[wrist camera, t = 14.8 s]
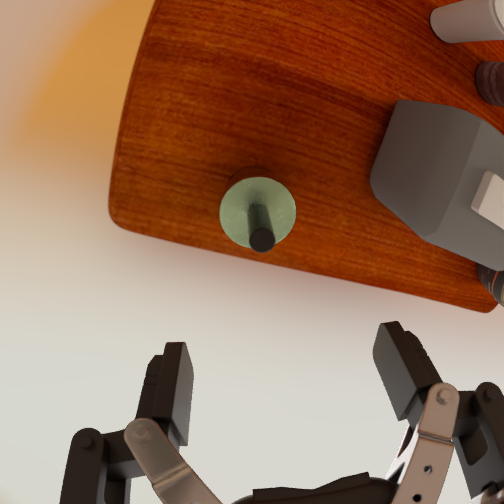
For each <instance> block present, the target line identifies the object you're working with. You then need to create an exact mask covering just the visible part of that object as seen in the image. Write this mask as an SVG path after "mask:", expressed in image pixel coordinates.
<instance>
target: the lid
mask: <svg viewBox="0 0 504 504" xmlns="http://www.w3.org/2000/svg"><path fill="white" fill-rule="evenodd" d="M219 218H220V222H221V225H222V228H223V230H224V231H225V233H226V234H227V235H228V236H229V237H230V238H231V239H232V240H233V241H234V242H236V243H238V244H240V245H242V246H245V247H249V248H252V249H253V250H254V251H256V252H260V253H264V252H268V251H269V250H271V249H272V248H273V247H274V245H275V244H276V243H278V242H280V241H281V240H282V239H283V238H285V237H286V236H287V234H288V233H289V232H290V230H291V229H292V227H293V225H294V222H295V218H296V206H295V202H294V199H293V197H292V195H291V193H290V192H289V190H288V189H287V188H286V187H285V186H284V185H283V184H282V183H280V182H279V181H277V180H275V179H273V178H270V177H266V176H250V177H246V178H244V179H241V180H239V181H237V182H236V183H234V184H233V185H232V186H231V187H230V188H229V189H228V190H227V191H226V193H225V194H224V196H223V198H222V201H221V204H220V210H219Z"/></svg>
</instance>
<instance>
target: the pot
mask: <svg viewBox="0 0 504 504" xmlns="http://www.w3.org/2000/svg"><path fill="white" fill-rule="evenodd" d="M250 176H266V177H270V178H273V179H275V180H277V181H279V179H278V178H277V177H276V176H275V175H274V174H273V173H272V172H271V171H269V170H267V169H265V168H261V167H247V168H244V169H242V170H240V171H238V172H237V173H235V174H234V175H233V176H232V177H231V179H230V180H229V182H228V184H227V186H226V190H225V193H226V191H227V190H228V189H229V188H230V187H231V186H232V185H233V184H234V183H236V182H237V181H239V180H241V179H244V178H246V177H250ZM279 182H280V181H279Z"/></svg>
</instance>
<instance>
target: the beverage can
mask: <svg viewBox="0 0 504 504" xmlns="http://www.w3.org/2000/svg"><path fill="white" fill-rule="evenodd" d="M430 23H431V27H432V29H433V31H434V32H435V33H436V35H437V36H438V37H439V38H440V39H442V40H443V41H445V42H447V43H459V42H470V41H486V40H504V0H465V1H460V2H457V3H453V4H449V5H446V6H442V7H439V8H436V9H434V10H433V12H432V13H431V17H430Z"/></svg>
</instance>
